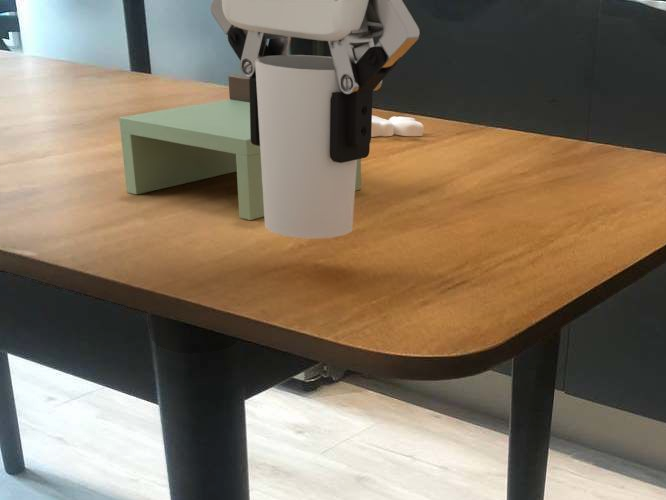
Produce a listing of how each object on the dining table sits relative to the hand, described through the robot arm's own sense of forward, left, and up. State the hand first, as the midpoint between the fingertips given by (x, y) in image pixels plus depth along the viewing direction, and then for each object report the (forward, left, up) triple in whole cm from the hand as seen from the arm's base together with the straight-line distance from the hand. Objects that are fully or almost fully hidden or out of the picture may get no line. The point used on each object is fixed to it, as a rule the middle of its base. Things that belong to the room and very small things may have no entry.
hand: (309, 148), depth 69 cm
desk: (+14, +19, -8) cm, 26 cm away
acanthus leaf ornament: (+44, +27, -8) cm, 53 cm away
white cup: (0, 0, -5) cm, 5 cm away
